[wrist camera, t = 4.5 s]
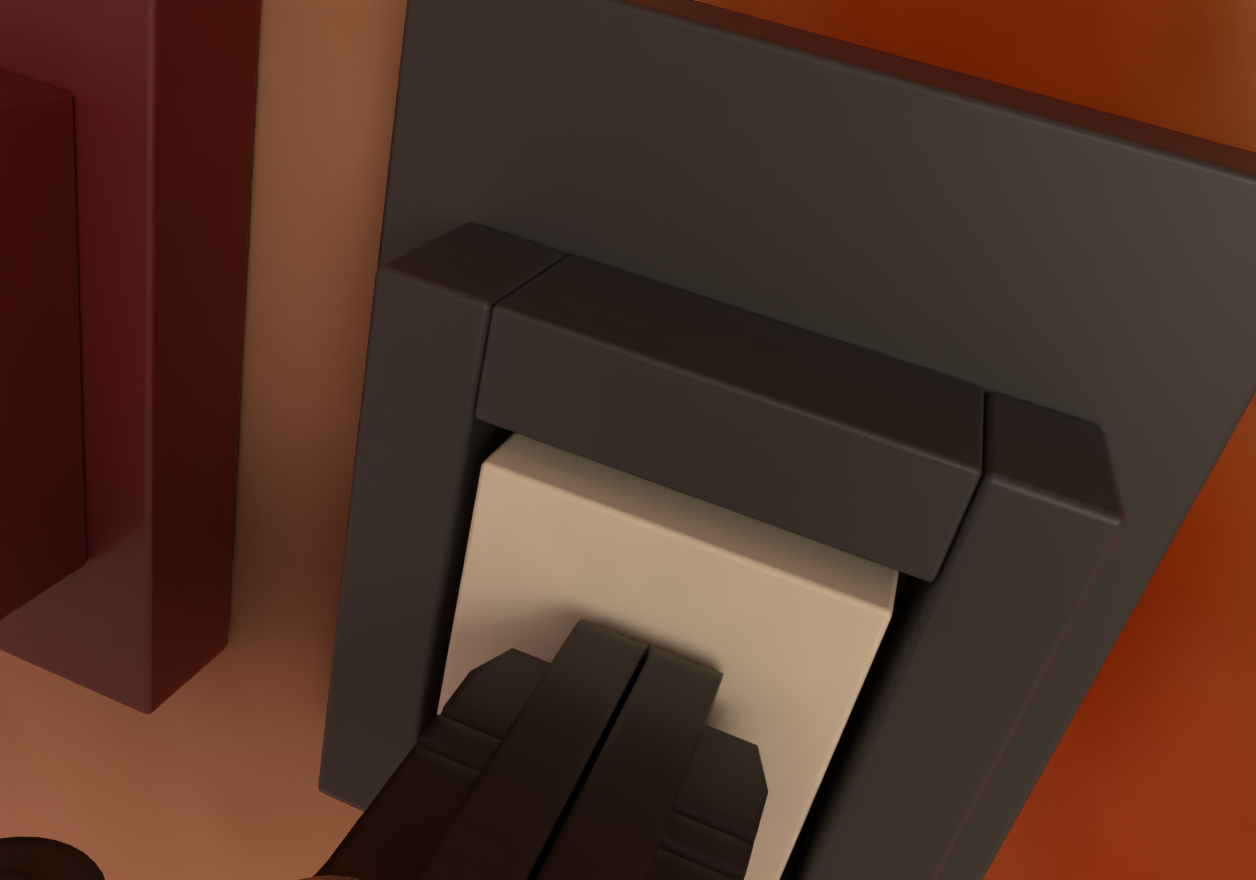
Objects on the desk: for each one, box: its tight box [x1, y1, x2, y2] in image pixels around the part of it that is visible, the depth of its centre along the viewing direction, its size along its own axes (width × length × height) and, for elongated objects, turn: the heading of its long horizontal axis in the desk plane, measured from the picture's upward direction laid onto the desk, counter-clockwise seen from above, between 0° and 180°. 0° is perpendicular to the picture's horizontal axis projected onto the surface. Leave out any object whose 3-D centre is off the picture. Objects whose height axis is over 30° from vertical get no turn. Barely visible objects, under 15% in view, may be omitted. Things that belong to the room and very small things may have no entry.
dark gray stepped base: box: [318, 0, 1256, 880], centre depth 12 cm, size 12×9×4 cm
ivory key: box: [437, 432, 899, 880], centre depth 11 cm, size 4×4×2 cm
